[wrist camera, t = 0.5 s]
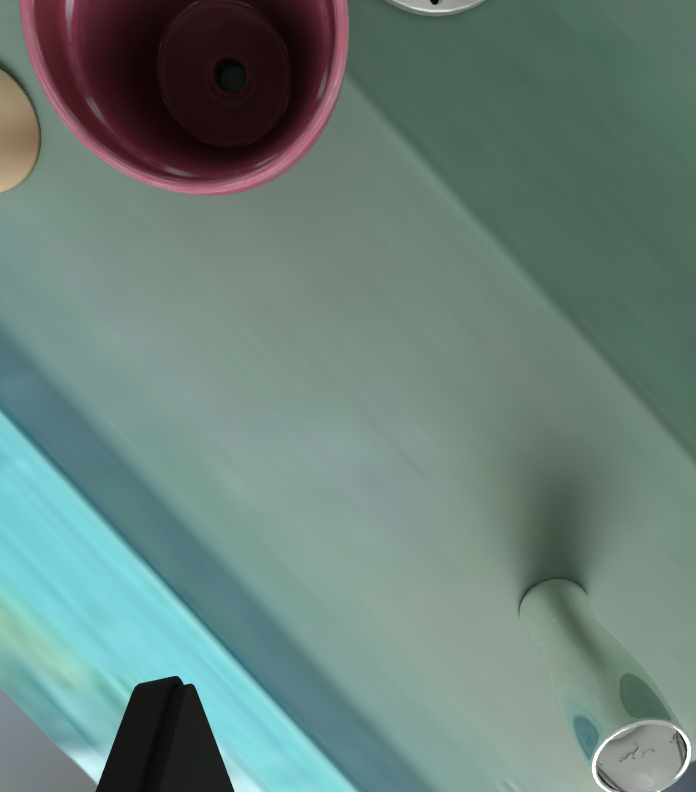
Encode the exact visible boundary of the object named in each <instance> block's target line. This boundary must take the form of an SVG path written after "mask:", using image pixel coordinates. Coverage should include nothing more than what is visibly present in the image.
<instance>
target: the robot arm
mask: <svg viewBox="0 0 696 792" xmlns="http://www.w3.org/2000/svg"><path fill="white" fill-rule="evenodd" d="M385 1H387V2H388V3H390V4H392V5H394V6H395V7H397V8H399V9H401V10H404V11H408V12H411V13H414V14H417V15H426V16H444V15H452V14H457V13H460V12H463V11H466V10H468V9H471V8H474V7H476V6H477V5H479V4H481V3H482V2H484V1H485V0H437V1H438V3H437V4H436V5H433V4H432V3H431V1H430V0H385ZM96 792H234V789H233V786H232V784H231V781H230V778H229V776H228V773H227V770H226V768H225V765H224V762H223V760H222V757H221V754H220V752H219V749H218V746H217V744H216V741H215V738H214V736H213V733H212V730H211V728H210V725H209V722H208V720H207V717H206V714H205V712H204V709H203V706H202V704H201V701H200V698H199V696H198V693H197V690H196V688H195V686H194V685H193V684H186V685H184V684H183V682H182V680H181V679H180V678H179V677H178V676H173V677H168V678H163V679H159V680H154V681H149V682H145V683H140V684H138V685H137V686H136V687H135V688H134V690H133V692H132V695H131V697H130V700H129V703H128V705H127V708H126V711H125V714H124V716H123V719H122V722H121V724H120V727H119V730H118V732H117V735H116V738H115V741H114V743H113V746H112V749H111V751H110V754H109V757H108V759H107V762H106V765H105V768H104V770H103V773H102V776H101V778H100V781H99V784H98V786H97V789H96Z"/></svg>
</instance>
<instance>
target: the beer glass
mask: <svg viewBox="0 0 696 792" xmlns="http://www.w3.org/2000/svg"><path fill="white" fill-rule="evenodd" d="M519 615H520V620H521V623H522V625H523V626H524V628H525V629H526V631H527V632H528V633H529V634H530V635H531V637H532V638H533V639H534V640H535V642H536V643H537V645H538V646H539V648H540V650H541V653H542V655H543V659H544V662H545V666H546V670H547V674H548V678H549V681H550V685H551V689H552V692H553V696H554V699H555V702H556V705H557V708H558V711H559V713H560V715H561V717H562V720H563V722H564V724H565V727H566V729H567V730H568V732H569V734H570V736H571V738H572V740H573V742H574V744H575V746H576V747H577V749H578V751H579V753H580V754H581V756H582V758H583V759H584V761H585V763H586V764H587V766H588V768H589V770H590V771H591V773H592V775H593V777H594V780H595V781H596V783H597V784H598V785H599V786H600V787H601V788H602V789H603V790H605V791H606V792H660V791H662V790H664V789H666V788H667V787H669V786H670V785H672V784H673V783H674V782H676V781H677V780H678V779H679V778H680V777H681V776H682V775H683V774H684V772H685V771H686V769H687V768H688V766H689V764H690V761H691V758H692V743H691V740H690V738H689V736H688V735H687V733H686V732H685V731H684V729H683V727H682V726H681V724H680V722H679V721H678V719H677V717H676V715H675V714H674V712H673V710H672V709H671V707H670V705H669V703H668V702H667V700H666V699H665V697H664V695H663V694H662V692H661V691H660V689H659V688H658V686H657V685H656V683H655V682H654V681H653V679H652V678H651V677H650V675H649V674H648V673H647V671H646V670H645V669H644V668H643V666H642V665H641V664H640V663H639V662H638V661H637V660H636V659H635V658H634V657H633V655H632V654H631V653H630V652H629V651H628V650H627V649H626V648H625V647H624V646H623V645H622V644H621V643H620V642H618V641H617V640H616V639H615V638H614V637H613V636H612V635H611V634H610V633H609V632H608V631H607V630H606V629H605V628H604V627H603V626H602V625H601V623H600V622H599V621H598V619H597V618H596V616H595V614H594V612H593V610H592V607H591V605H590V602H589V599H588V597H587V595H586V593H585V592H584V590H583V589H582V588H581V587H580V586H579V585H577V584H576V583H574V582H572V581H570V580H566V579H550V580H546V581H544V582H541V583H539V584H537V585H536V586H534V587H533V588H531V589H530V590H529V591H528V592H527V593H526V595H525V596H524V598H523V599H522V601H521V604H520V608H519Z"/></svg>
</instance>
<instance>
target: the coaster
mask: <svg viewBox="0 0 696 792" xmlns="http://www.w3.org/2000/svg"><path fill="white" fill-rule="evenodd" d="M40 147H41V131H40V125H39V120H38V117H37V114H36V111H35V109H34V106H33V104H32V102H31V100H30V99H29V97H28V95H27V94H26V93H25V91H24V90H23V89H22V87H21V86H20V85H19V84H18V83H17V82H16V81H15V80H14V79H13V78H12V77H11V76H10V75H8V74H7V73H6V72H5V71H3V70H2V69H0V193H2V192H5V191H8V190H11V189H12V188H14V187H16V186H18V185H19V184H20V183H22V182H23V181H24V180H25V179H26V178H27V177H28V176H29V175H30V173H31V172H32V170H33V169H34V167H35V165H36V163H37V160H38V157H39V153H40Z"/></svg>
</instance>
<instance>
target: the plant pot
mask: <svg viewBox="0 0 696 792" xmlns="http://www.w3.org/2000/svg"><path fill="white" fill-rule="evenodd" d="M19 5H20V15H21V24H22V29H23V34H24V39H25V43H26V48H27V52H28V55H29V58H30V62H31V64H32V67H33V70H34V72H35V75H36V77H37V79H38V82H39V84H40V86H41V88H42V90H43V92H44V93H45V95H46V97H47V99H48V100H49V102H50V104H51V105H52V107H53V109H54V110H55V111H56V113H57V114H58V116H59V117H60V119H61V120H62V121H63V122H64V123H65V125H66V126H67V127H68V128H69V129H70V131H71V132H72V133H73V134H74V135H75V136H76V137H77V138H78V139H79V140H80V141H81V142H82V143H83V144H84V145H85V146H86V147H87V148H88V149H90V150H91V151H92V152H93V153H94V154H96V155H97V156H98V157H99V158H101V159H102V160H103V161H105V162H106V163H108V164H109V165H111V166H112V167H114V168H116V169H117V170H119V171H121V172H122V173H124V174H126V175H128V176H130V177H132V178H134V179H136V180H139V181H141V182H143V183H146V184H149V185H151V186H155V187H158V188H161V189H165V190H169V191H173V192H178V193H184V194H192V195H224V194H232V193H237V192H242V191H246V190H249V189H252V188H255V187H258V186H260V185H263V184H265V183H267V182H269V181H271V180H273V179H275V178H277V177H278V176H280V175H281V174H283V173H284V172H286V171H287V170H288V169H290V168H291V167H292V166H293V165H294V164H296V163H297V162H298V161H299V160H300V159H301V158H302V157H303V156H304V155H305V154H306V153H307V152H308V151H309V150H310V148H311V147H312V146H313V145H314V143H315V142H316V141H317V139H318V138H319V136H320V135H321V133H322V132H323V130H324V128H325V127H326V125H327V123H328V121H329V119H330V117H331V115H332V112H333V110H334V108H335V105H336V102H337V100H338V97H339V94H340V90H341V87H342V83H343V78H344V74H345V68H346V62H347V54H348V42H349V15H348V4H347V0H19ZM229 61H234V62H237V63H239V64H240V65H241V66H242V67H243V68H244V70H245V72H246V82H245V84H244V87H243V88H242V89H241V90H239V91H238V92H235V93H228V92H225V91H223V90H222V89H221V87H220V86H219V84H218V81H217V74H218V71H219V69H220V67H221V66H222V65H223V64H224V63H226V62H229Z"/></svg>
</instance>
